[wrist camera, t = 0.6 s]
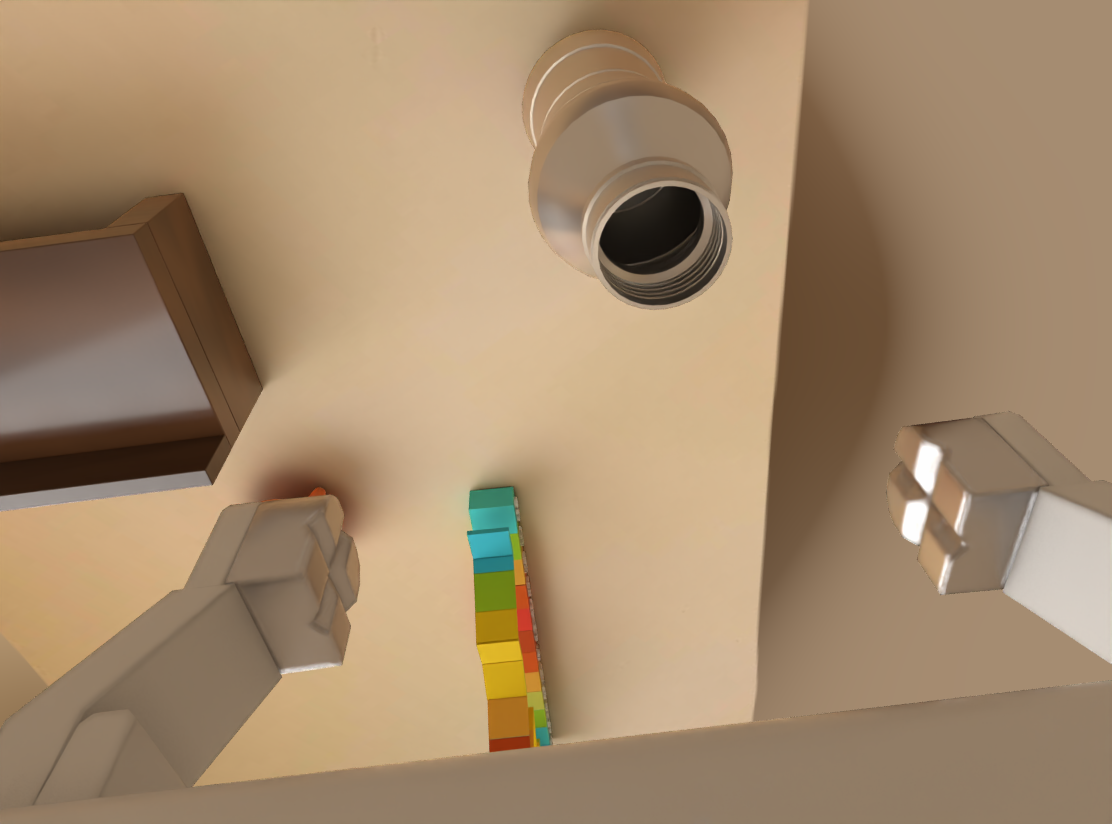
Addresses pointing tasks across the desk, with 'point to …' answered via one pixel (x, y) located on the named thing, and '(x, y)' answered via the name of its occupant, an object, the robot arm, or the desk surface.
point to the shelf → (117, 361)
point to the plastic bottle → (626, 171)
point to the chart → (506, 624)
